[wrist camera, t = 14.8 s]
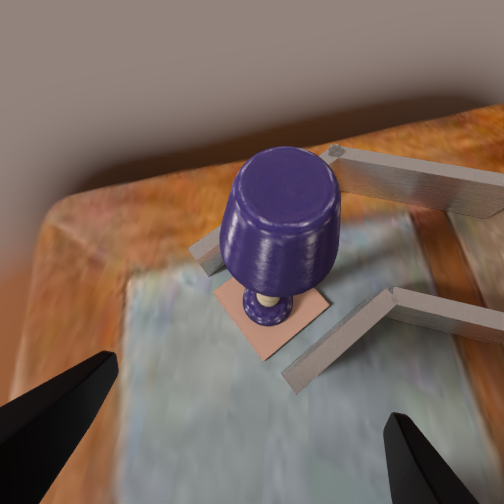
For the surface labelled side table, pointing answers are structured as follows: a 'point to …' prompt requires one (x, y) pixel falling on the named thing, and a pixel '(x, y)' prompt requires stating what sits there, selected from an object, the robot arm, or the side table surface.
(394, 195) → the bent rails
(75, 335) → the side table surface
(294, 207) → the toy lamp
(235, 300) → the end pad
